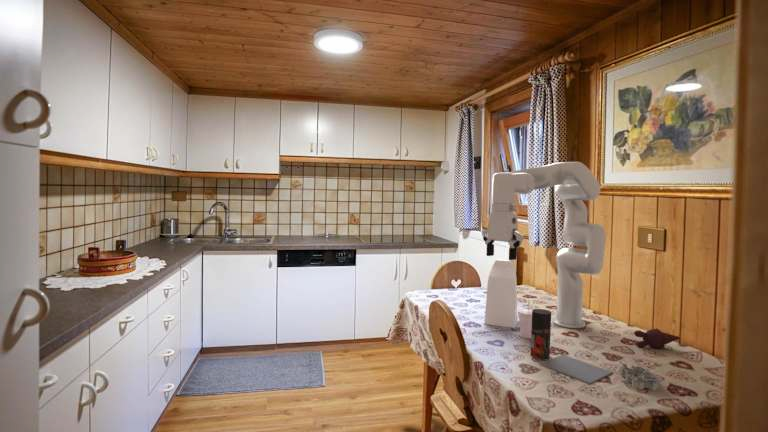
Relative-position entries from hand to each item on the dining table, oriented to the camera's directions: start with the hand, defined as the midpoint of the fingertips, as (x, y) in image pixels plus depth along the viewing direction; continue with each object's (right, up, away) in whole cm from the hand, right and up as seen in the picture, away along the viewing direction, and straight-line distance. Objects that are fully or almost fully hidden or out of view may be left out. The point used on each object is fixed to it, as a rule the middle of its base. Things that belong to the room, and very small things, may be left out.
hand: (501, 257), depth 143 cm
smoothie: (+12, -31, +11) cm, 35 cm away
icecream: (+56, -33, +3) cm, 65 cm away
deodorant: (+11, -32, -7) cm, 35 cm away
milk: (+8, -30, +29) cm, 42 cm away
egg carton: (+33, -34, -25) cm, 53 cm away
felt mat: (+18, -33, -17) cm, 41 cm away
